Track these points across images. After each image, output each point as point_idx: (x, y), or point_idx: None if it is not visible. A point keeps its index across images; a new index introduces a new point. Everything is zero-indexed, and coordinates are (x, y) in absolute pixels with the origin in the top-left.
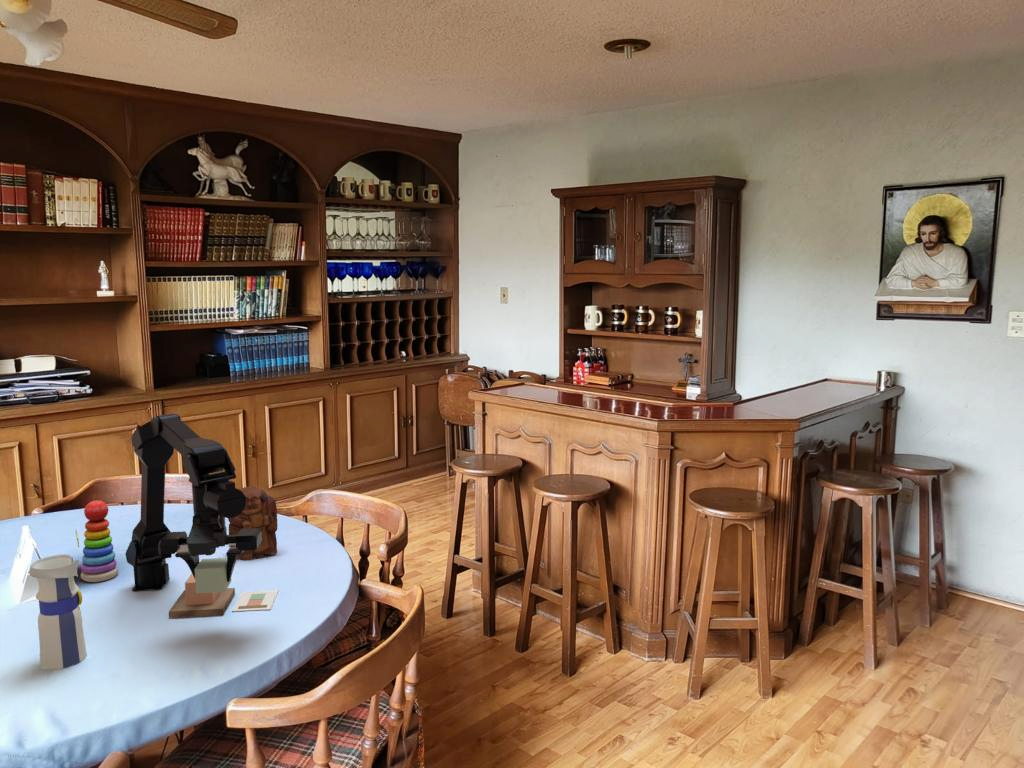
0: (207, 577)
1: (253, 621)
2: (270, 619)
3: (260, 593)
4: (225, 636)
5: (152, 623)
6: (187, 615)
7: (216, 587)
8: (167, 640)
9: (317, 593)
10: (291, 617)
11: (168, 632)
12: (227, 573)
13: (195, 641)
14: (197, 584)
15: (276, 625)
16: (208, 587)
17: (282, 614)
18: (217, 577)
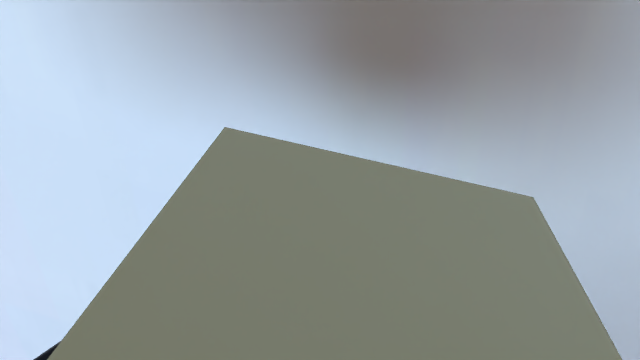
0: (412, 306)
1: (201, 154)
2: (129, 147)
3: None
4: (319, 34)
5: (634, 286)
6: None
7: (304, 175)
8: (617, 94)
9: (7, 293)
10: (39, 134)
11: (589, 181)
12: None
13: (477, 27)
14: (546, 265)
15: (84, 74)
16: (400, 200)
17: (88, 176)
18: (248, 259)
